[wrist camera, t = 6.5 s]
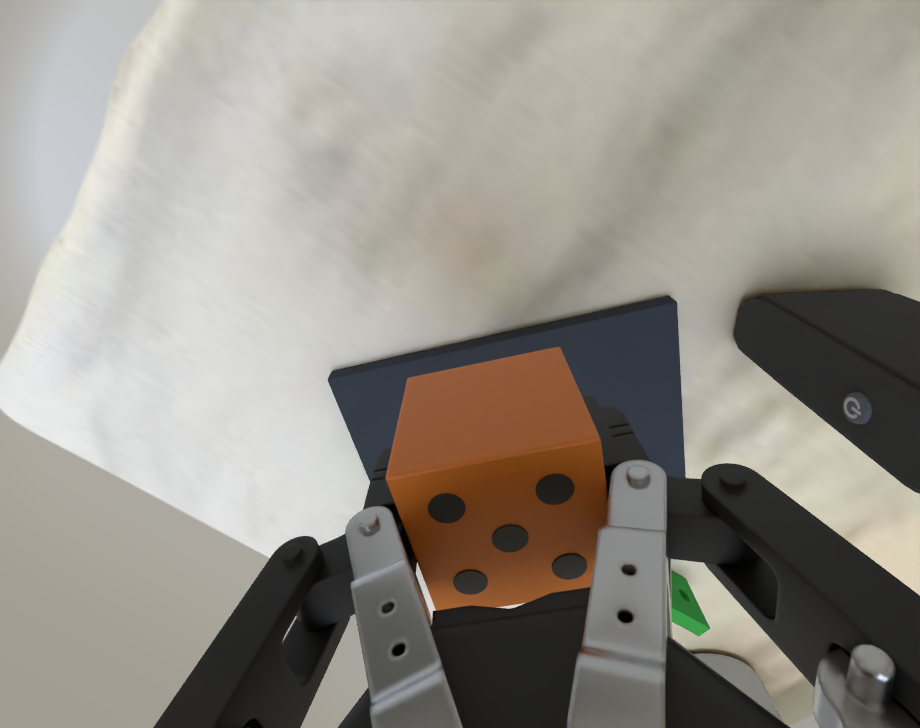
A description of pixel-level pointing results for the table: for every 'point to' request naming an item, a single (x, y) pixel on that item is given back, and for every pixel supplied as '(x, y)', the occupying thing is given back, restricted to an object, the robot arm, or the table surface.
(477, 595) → the die
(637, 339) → the bed mat
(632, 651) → the robot arm
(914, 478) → the dark grey rounded box
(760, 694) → the cylinder vase
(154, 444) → the table surface
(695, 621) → the pipe clamp
